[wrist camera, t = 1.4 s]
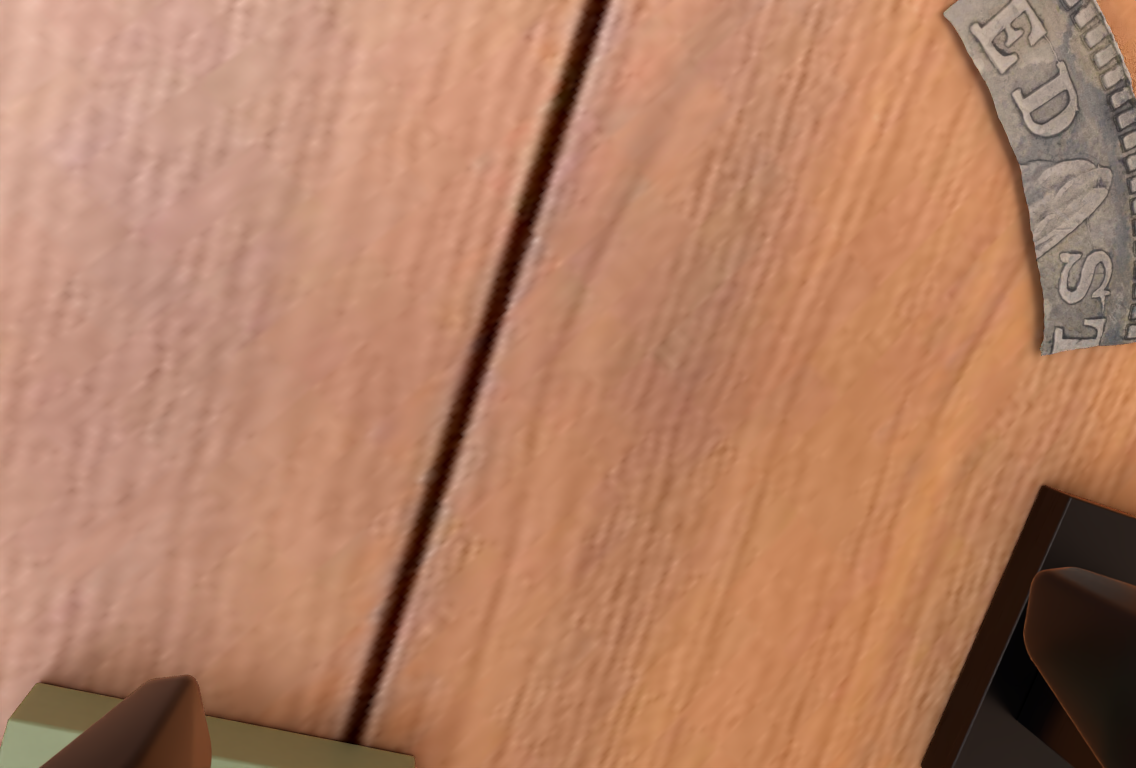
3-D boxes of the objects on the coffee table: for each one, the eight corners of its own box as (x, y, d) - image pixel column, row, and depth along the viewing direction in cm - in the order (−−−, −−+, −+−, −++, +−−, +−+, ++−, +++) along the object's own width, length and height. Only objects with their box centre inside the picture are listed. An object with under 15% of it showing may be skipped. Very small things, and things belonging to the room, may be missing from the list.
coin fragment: (927, -37, 23) (937, -41, 22) (1083, -105, 23) (1096, -110, 22) (1044, 386, 26) (1054, 389, 25) (1179, 321, 26) (1191, 323, 26)
